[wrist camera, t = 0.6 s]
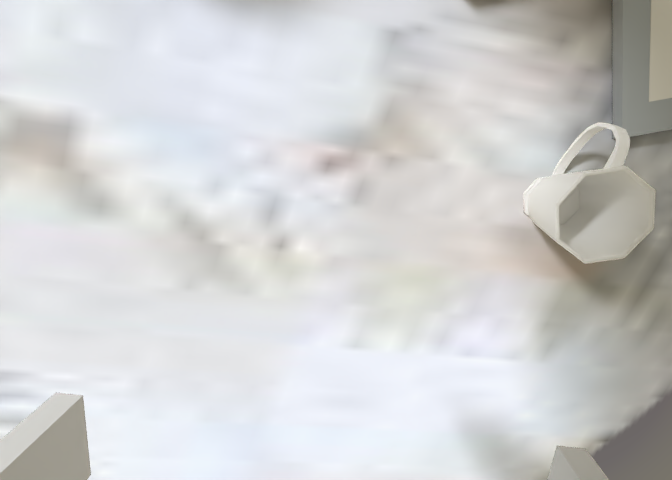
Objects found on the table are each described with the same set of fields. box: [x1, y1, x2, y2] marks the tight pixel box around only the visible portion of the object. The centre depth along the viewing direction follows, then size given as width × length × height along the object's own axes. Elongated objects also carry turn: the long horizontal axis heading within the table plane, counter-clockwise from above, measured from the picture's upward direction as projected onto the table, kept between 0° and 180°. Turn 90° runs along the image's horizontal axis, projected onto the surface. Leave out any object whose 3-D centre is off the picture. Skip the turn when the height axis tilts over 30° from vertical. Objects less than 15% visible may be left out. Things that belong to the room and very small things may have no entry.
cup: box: [523, 123, 656, 264], centre depth 29 cm, size 7×10×8 cm
